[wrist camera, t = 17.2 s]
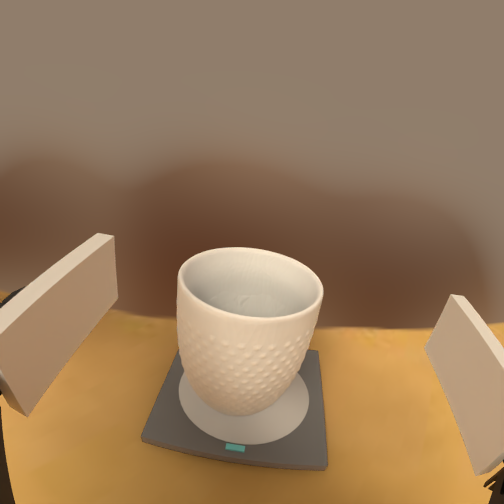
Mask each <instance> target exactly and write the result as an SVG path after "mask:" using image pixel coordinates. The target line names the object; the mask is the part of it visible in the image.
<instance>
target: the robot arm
mask: <svg viewBox="0 0 504 504" xmlns="http://www.w3.org/2000/svg"><path fill="white" fill-rule="evenodd" d="M117 299H118V290H117V277H116V262H115V243H114V236H111V235H106V234H101V233H97V234H96V235H94V236H93V237H91V238H90V239H88V240H87V241H86V242H84V243H83V244H81V245H80V246H79V247H77V248H76V249H74V250H73V251H72V252H70V253H69V254H68V255H66V256H65V257H64V258H62V259H61V260H60V261H58V262H57V263H56V264H54V265H53V266H52V267H50V268H49V269H48V270H47V271H45V272H44V273H43V274H42V275H40V276H39V277H38V278H36V279H35V280H34V281H33V282H31V283H30V284H29V285H28V286H25V287H23V288H21V289H19V290H17V291H14V292H12V293H11V294H10V295H9V296H8V297H6V298H5V299H4V300H3V301H2V303H0V395H1V394H3V396H4V398H5V399H6V401H7V403H8V404H9V406H10V407H12V408H13V409H15V410H16V411H18V412H19V413H21V414H23V415H24V416H26V417H28V416H29V414H30V413H31V411H32V410H33V408H34V407H35V406H36V404H37V403H38V401H39V400H40V398H41V397H42V396H43V394H44V393H45V391H46V390H47V389H48V387H49V386H50V384H51V383H52V382H53V380H54V379H55V378H56V376H57V375H58V374H59V372H60V371H61V370H62V368H63V367H64V366H65V364H66V363H67V362H68V360H69V359H70V358H71V356H72V355H73V354H74V352H75V351H76V350H77V349H78V347H79V346H80V345H81V343H82V342H83V341H84V340H85V338H86V337H87V336H88V335H89V333H90V332H91V331H92V330H93V328H94V327H95V326H96V325H97V323H98V322H99V321H100V320H101V318H102V317H103V316H104V315H105V314H106V312H107V311H108V310H109V309H110V307H111V306H112V305H113V304H114V302H115V301H116V300H117ZM424 349H425V351H426V353H427V355H428V357H429V360H430V362H431V364H432V366H433V368H434V370H435V372H436V375H437V377H438V379H439V381H440V384H441V386H442V388H443V390H444V393H445V395H446V397H447V400H448V402H449V405H450V407H451V410H452V412H453V414H454V417H455V420H456V422H457V425H458V427H459V430H460V433H461V435H462V438H463V441H464V444H465V446H466V449H467V452H468V455H469V458H470V461H471V464H472V467H473V470H474V473H475V476H478V475H481V474H484V473H488V472H490V471H492V470H493V469H494V468H495V467H496V466H498V465H499V464H500V463H501V462H502V461H503V463H504V348H503V347H502V345H501V344H500V343H499V341H498V340H497V338H496V337H495V336H494V334H493V333H492V332H491V330H490V329H489V327H488V326H487V325H486V324H485V322H484V321H483V320H482V318H481V317H480V316H479V314H478V313H477V312H476V311H475V309H474V308H473V307H472V306H471V304H470V303H469V302H468V301H467V300H466V298H465V297H464V296H459V295H452V294H451V295H450V297H449V299H448V301H447V304H446V306H445V308H444V310H443V312H442V314H441V317H440V318H439V320H438V322H437V324H436V326H435V328H434V330H433V332H432V334H431V336H430V338H429V340H428V341H427V343H426V345H425V347H424ZM493 481H496V482H495V483H494V484H492V485H491V486H490V487H489V488H488V489H490V490H492V491H493V492H492V495H491V498H490V501H489V504H504V467H503V468H502V469H501V470H500V471H498V472H497V473H496V474H495V475H494V476H492V477H491V478H490V479H489V480H487V481H486V482H485V484H484V486H483V487H486V486H488V485H489V484H490V483H492V482H493ZM0 504H15V501H14V497H13V492H12V488H11V483H10V478H9V473H8V468H7V462H6V455H5V448H4V440H3V431H2V419H1V407H0Z"/></svg>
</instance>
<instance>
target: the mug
mask: <svg viewBox="0 0 504 504" xmlns="http://www.w3.org/2000/svg"><path fill="white" fill-rule="evenodd" d="M322 298H323V286H322V283H321V282H320V280H319V278H318V277H317V275H316V274H315V273H314V272H313V271H311V270H310V269H309V268H308V267H307V266H305V265H303V264H302V263H300V262H298V261H296V260H294V259H292V258H289V257H287V256H284V255H281V254H277V253H274V252H270V251H266V250H260V249H253V248H241V247H238V248H237V247H233V248H219V249H213V250H208V251H205V252H202V253H199V254H197V255H195V256H193V257H191V258H190V259H188V260H187V261H186V262H185V263H184V264H183V265H182V266H181V268H180V270H179V273H178V288H177V335H178V345H179V354H180V357H181V363H182V366H183V368H184V372H185V375H186V376H187V378H188V382H189V383H190V385H191V386H192V388H193V390H194V391H195V392H196V394H197V396H198V397H199V398H201V399H202V400H203V401H204V402H205V403H206V404H207V405H208V406H209V407H211V408H212V409H214V410H216V411H218V412H220V413H222V414H226V415H230V416H248V415H252V414H255V413H258V412H260V411H262V410H264V409H266V408H267V407H269V406H270V405H272V404H273V403H274V402H275V401H276V400H278V399H279V397H280V396H281V395H282V394H284V392H285V390H286V389H287V388H288V387H289V386H290V384H291V382H292V380H293V379H294V378H295V377H296V374H297V372H298V371H299V370H300V367H301V364H302V362H303V360H304V358H305V354H306V351H307V350H308V348H309V344H310V340H311V338H312V336H313V332H314V327H315V325H316V322H317V318H318V313H319V310H320V306H321V302H322Z"/></svg>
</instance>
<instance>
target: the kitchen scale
mask: <svg viewBox="0 0 504 504" xmlns="http://www.w3.org/2000/svg"><path fill="white" fill-rule="evenodd" d="M141 438H142V442H145V443H149V444H152V445H156V446H159V447H163V448H167V449H170V450H174V451H178V452H182V453H187V454H191V455H195V456H200V457H205V458H210V459H215V460H221V461H226V462H232V463H239V464H246V465H253V466H262V467H271V468H282V469H297V470H322V471H324V470H325V469H326V467H327V466H328V462H327V445H326V431H325V418H324V406H323V395H322V384H321V374H320V364H319V355H318V351H315V350H307V351H306V354H305V358H304V360H303V362H302V364H301V367H300V370H299V371H298V372H297V374H296V377H295V378H294V379H293V380H292V382H291V384H290V386H289V387H288V388H287V389H286V390H285V392H284V394H282V395H281V396H280V397H279V399H278V400H276V401H275V402H274V403H273V404H272V405H270V406H269V407H267V408H266V409H264V410H262V411H260V412H258V413H255V414H252V415H248V416H230V415H226V414H222V413H220V412H218V411H216V410H214V409H212V408H211V407H209V406H208V405H207V404H206V403H205V402H204V401H203V400H202V399H201V398H199V397H198V396H197V394H196V392H195V391H194V390H193V388H192V386H191V385H190V383H189V382H188V378H187V376H186V375H185V372H184V368H183V366H182V363H181V357H180V354H179V350H178V352H177V354H176V356H175V359H174V361H173V363H172V365H171V368H170V370H169V372H168V374H167V377H166V379H165V381H164V384H163V386H162V388H161V390H160V393H159V395H158V397H157V400H156V402H155V404H154V407H153V409H152V411H151V414H150V416H149V418H148V421H147V423H146V425H145V428H144V430H143V432H142V435H141Z"/></svg>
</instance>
